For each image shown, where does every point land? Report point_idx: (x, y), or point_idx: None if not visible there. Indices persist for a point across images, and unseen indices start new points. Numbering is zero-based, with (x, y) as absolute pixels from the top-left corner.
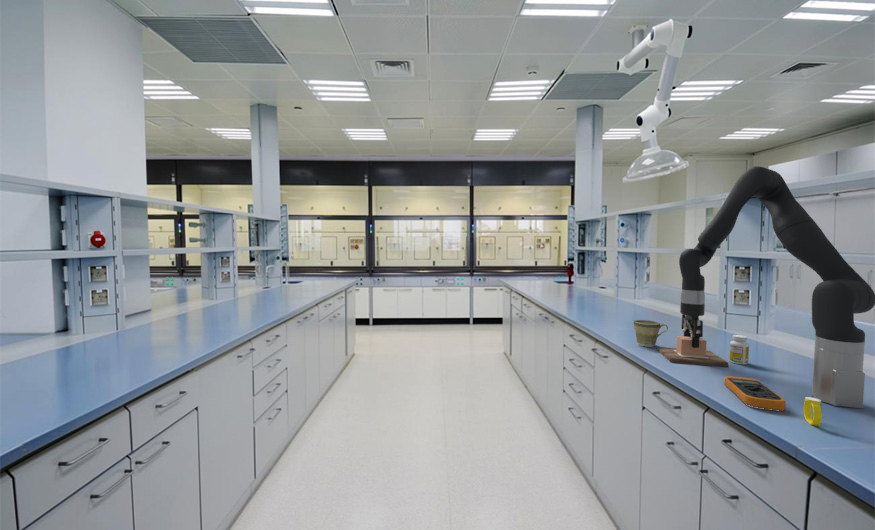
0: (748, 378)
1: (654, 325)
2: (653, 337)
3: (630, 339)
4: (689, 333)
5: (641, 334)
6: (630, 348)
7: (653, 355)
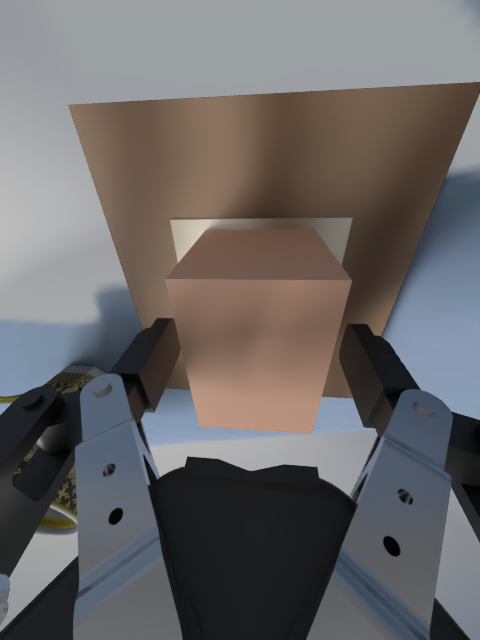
0: None
1: (62, 499)
2: None
3: None
4: (145, 378)
5: None
6: (182, 433)
7: None
